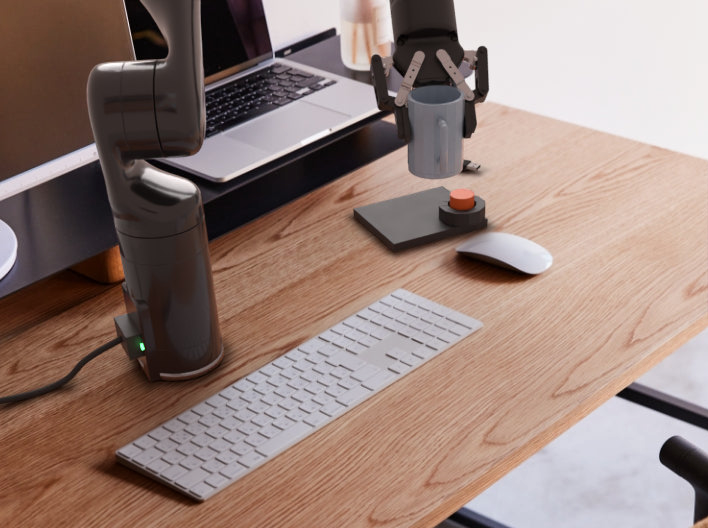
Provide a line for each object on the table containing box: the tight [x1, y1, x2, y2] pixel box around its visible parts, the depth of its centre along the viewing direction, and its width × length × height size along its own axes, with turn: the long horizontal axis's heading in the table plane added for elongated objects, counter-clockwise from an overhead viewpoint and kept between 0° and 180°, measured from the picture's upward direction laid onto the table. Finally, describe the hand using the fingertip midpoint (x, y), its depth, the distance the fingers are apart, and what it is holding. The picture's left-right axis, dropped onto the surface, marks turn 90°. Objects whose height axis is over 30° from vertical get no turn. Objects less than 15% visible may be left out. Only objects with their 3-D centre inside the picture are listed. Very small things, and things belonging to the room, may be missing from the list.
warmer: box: [352, 185, 489, 253], centre depth 143 cm, size 15×13×3 cm
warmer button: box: [450, 188, 475, 210], centre depth 141 cm, size 3×3×2 cm
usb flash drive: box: [462, 158, 482, 172], centre depth 158 cm, size 8×2×1 cm, turn 59°
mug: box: [406, 85, 465, 180], centre depth 124 cm, size 9×6×9 cm
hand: (437, 138), depth 124 cm, fingers closed on mug, 6 cm apart
